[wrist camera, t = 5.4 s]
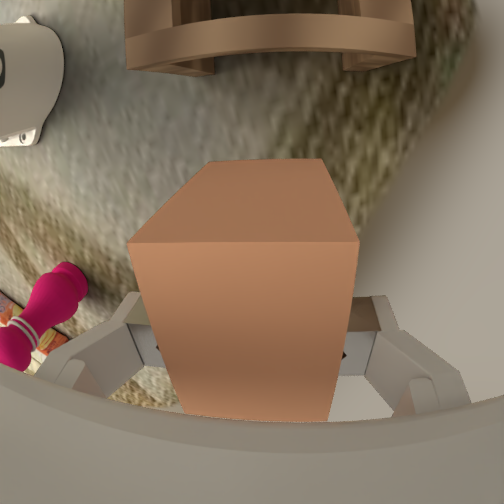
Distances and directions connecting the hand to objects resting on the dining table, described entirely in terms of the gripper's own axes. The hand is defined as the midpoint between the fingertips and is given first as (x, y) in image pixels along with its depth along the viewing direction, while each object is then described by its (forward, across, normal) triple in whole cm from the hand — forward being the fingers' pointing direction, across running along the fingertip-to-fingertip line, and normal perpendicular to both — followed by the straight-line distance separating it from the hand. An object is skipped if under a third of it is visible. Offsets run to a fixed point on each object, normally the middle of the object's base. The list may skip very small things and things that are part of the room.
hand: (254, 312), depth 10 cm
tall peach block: (+6, 0, 0) cm, 6 cm away
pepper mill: (+23, +31, +15) cm, 41 cm away
